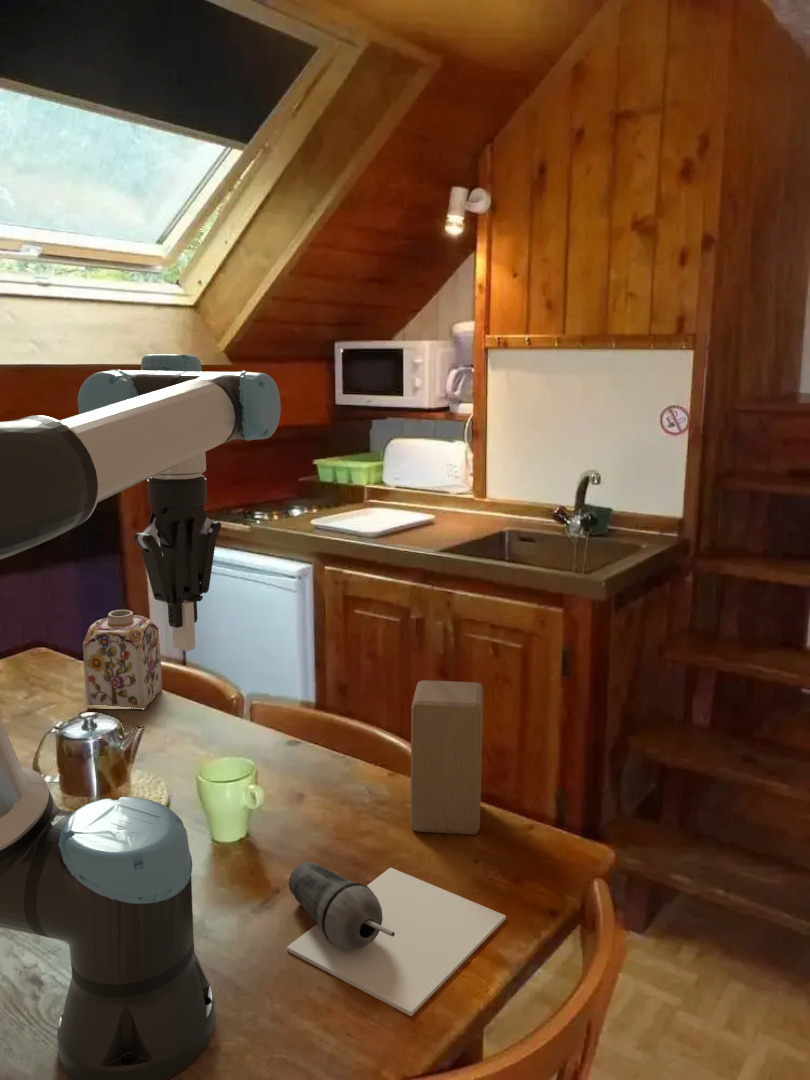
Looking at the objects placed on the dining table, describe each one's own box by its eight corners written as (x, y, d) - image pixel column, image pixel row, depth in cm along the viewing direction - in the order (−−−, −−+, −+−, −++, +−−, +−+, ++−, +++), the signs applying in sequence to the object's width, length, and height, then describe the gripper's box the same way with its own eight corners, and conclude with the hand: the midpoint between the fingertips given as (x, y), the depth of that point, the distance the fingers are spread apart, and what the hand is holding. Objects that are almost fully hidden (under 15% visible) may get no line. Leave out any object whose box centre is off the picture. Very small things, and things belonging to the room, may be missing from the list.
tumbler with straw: (270, 904, 108) (351, 976, 91) (290, 845, 109) (373, 906, 93) (318, 912, 112) (405, 983, 95) (337, 856, 113) (426, 916, 96)
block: (480, 803, 135) (483, 680, 131) (479, 837, 125) (482, 706, 121) (415, 799, 136) (417, 677, 132) (409, 833, 126) (410, 702, 122)
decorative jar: (107, 687, 181) (102, 603, 178) (163, 689, 181) (159, 604, 177) (84, 710, 170) (78, 621, 166) (144, 711, 169) (139, 622, 166)
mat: (411, 1016, 91) (411, 1012, 91) (287, 950, 101) (286, 946, 101) (505, 919, 107) (505, 915, 107) (390, 870, 117) (390, 867, 117)
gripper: (195, 468, 122) (202, 631, 126) (116, 477, 111) (126, 655, 116) (233, 472, 117) (239, 641, 122) (155, 482, 107) (164, 666, 112)
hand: (184, 647), depth 119 cm, fingers closed
